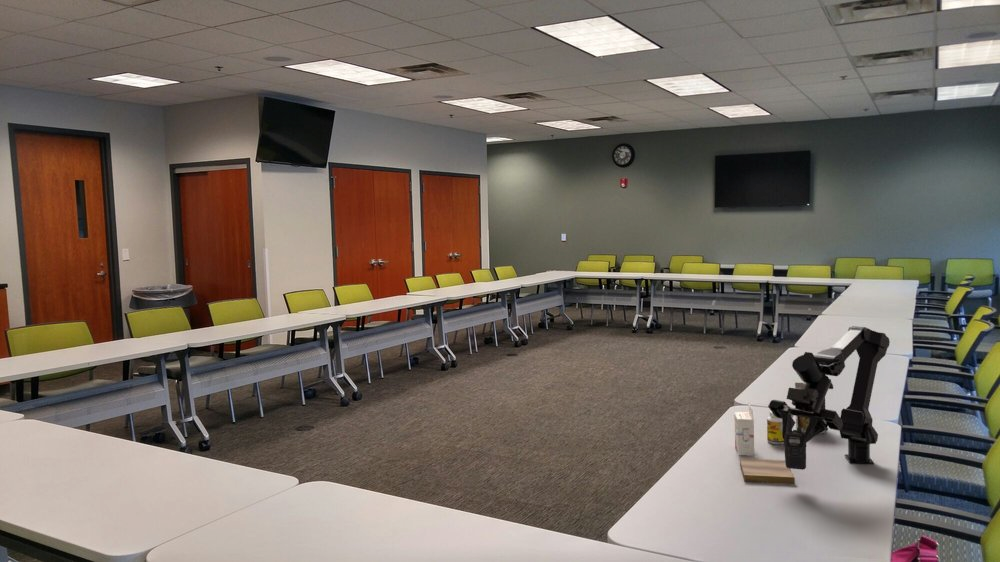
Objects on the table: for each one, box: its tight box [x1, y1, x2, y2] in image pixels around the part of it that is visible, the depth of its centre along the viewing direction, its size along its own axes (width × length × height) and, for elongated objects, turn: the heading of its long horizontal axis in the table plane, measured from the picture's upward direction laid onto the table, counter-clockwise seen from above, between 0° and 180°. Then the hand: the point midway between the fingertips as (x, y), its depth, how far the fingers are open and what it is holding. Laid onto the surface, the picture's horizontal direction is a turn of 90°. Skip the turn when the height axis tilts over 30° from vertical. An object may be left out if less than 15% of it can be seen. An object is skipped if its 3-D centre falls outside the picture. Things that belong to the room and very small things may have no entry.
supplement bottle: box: [766, 410, 784, 445], centre depth 220 cm, size 6×6×10 cm
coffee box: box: [794, 382, 827, 434], centre depth 231 cm, size 9×6×16 cm
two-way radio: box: [783, 413, 807, 471], centre depth 181 cm, size 6×4×15 cm
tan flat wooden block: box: [739, 458, 796, 485], centre depth 192 cm, size 14×13×2 cm
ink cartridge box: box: [733, 403, 755, 457], centre depth 212 cm, size 9×5×15 cm, turn 168°
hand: (793, 440), depth 180 cm, fingers closed on two-way radio, 5 cm apart
